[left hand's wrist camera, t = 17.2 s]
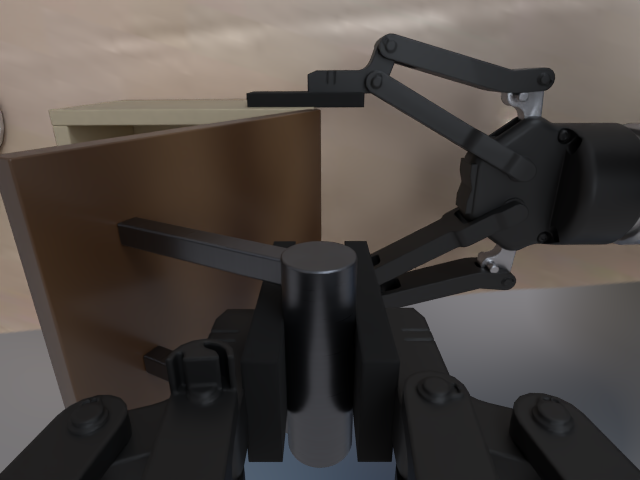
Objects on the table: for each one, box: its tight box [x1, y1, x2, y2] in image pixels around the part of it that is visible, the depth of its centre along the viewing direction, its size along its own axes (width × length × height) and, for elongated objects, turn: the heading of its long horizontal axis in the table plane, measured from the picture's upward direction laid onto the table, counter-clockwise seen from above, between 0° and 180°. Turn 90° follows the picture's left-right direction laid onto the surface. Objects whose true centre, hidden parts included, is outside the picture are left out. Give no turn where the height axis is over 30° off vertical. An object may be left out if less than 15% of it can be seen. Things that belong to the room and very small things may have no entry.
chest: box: [49, 99, 316, 146], centre depth 28 cm, size 14×10×9 cm
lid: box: [0, 109, 358, 468], centre depth 16 cm, size 15×10×8 cm
